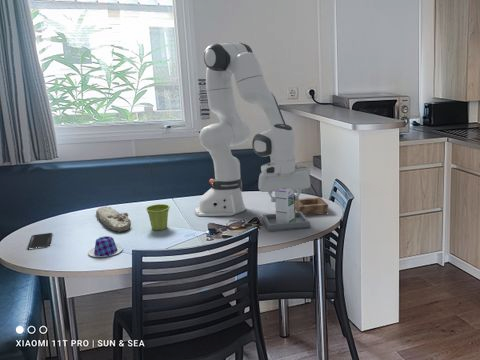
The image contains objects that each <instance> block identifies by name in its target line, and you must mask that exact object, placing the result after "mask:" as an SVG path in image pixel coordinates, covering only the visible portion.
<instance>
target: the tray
mask: <svg viewBox="0 0 480 360" xmlns="http://www.w3.org/2000/svg"><path fill="white" fill-rule="evenodd" d="M295 220H296V221H295V222H293V223H281V224H278V223H276V213H268V214H267V213H266V214H262V222H263V223H264V226H265V227H266V229H267V231H268V232H280V231H292V230H303V229H310V226H311V225H310V224H311V223H310V221H309V220H308V218H307V217H306V216H304V215H303V213H302V212H296V211H295Z"/></svg>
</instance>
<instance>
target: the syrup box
mask: <svg viewBox="0 0 480 360" xmlns="http://www.w3.org/2000/svg"><path fill="white" fill-rule="evenodd" d="M295 195H296V194H295V190H291V188H280V189H279V191H274V197H275V202H274V203H275V214H276V223H278V224H281V223H293V222H295V221H296V220H295V212H296V210H295Z"/></svg>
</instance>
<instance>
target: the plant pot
mask: <svg viewBox="0 0 480 360" xmlns="http://www.w3.org/2000/svg"><path fill="white" fill-rule="evenodd" d="M170 207H171V206H170V205H168V204H165V203H164V204H163V203H160V204H157V203H156V204H152V205H149V206H147V207H145V210H146V211H147V214H148V217H149V223H150V226H151V229H152V230H154V231H159V230H160V231H163V230H166V229H167V228H168V218H169V216H168V215H169V210H170Z"/></svg>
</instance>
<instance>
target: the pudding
mask: <svg viewBox="0 0 480 360" xmlns="http://www.w3.org/2000/svg"><path fill="white" fill-rule="evenodd" d="M117 248H119V251H118V249H117ZM123 249H124V247H123V246H122V245H119V244H116V242H115V239H114V237H112V236H107V235H105V236H100V237H98V238H97V239H96V240H95V244H94V247H93V248H91V249H90V250H89V251H88V255H89V256H90V257H95V258H105V257H111V256H114V255H117V254H119V253H121V252H122V251H123ZM117 251H118V252H117ZM93 253H94V254H93ZM113 253H114V254H113ZM95 255H96V256H95ZM106 255H109V256H106Z"/></svg>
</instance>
